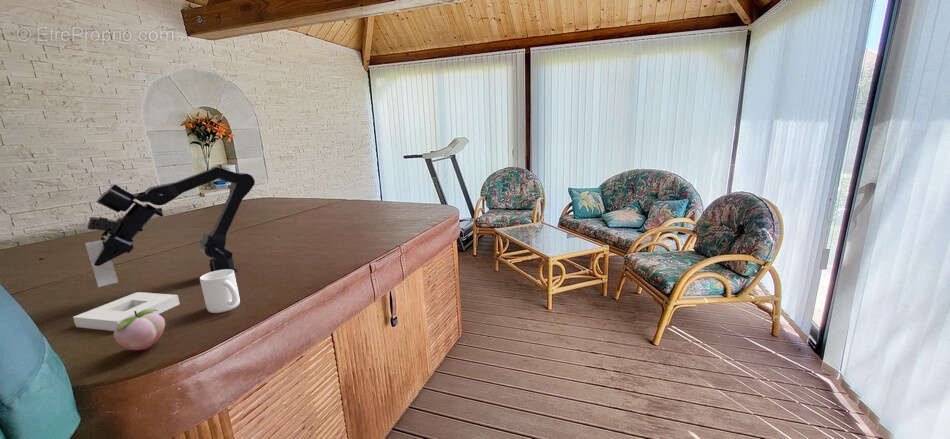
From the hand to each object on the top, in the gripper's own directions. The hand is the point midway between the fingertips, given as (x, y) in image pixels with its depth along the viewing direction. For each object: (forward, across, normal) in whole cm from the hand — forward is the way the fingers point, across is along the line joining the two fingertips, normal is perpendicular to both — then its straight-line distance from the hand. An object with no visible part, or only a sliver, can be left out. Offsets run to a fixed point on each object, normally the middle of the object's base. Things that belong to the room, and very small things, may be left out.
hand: (95, 263), depth 111 cm
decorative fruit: (+7, +43, +12) cm, 45 cm away
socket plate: (+7, +15, +12) cm, 21 cm away
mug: (-7, +34, +26) cm, 44 cm away
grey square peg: (+4, 0, +6) cm, 7 cm away
